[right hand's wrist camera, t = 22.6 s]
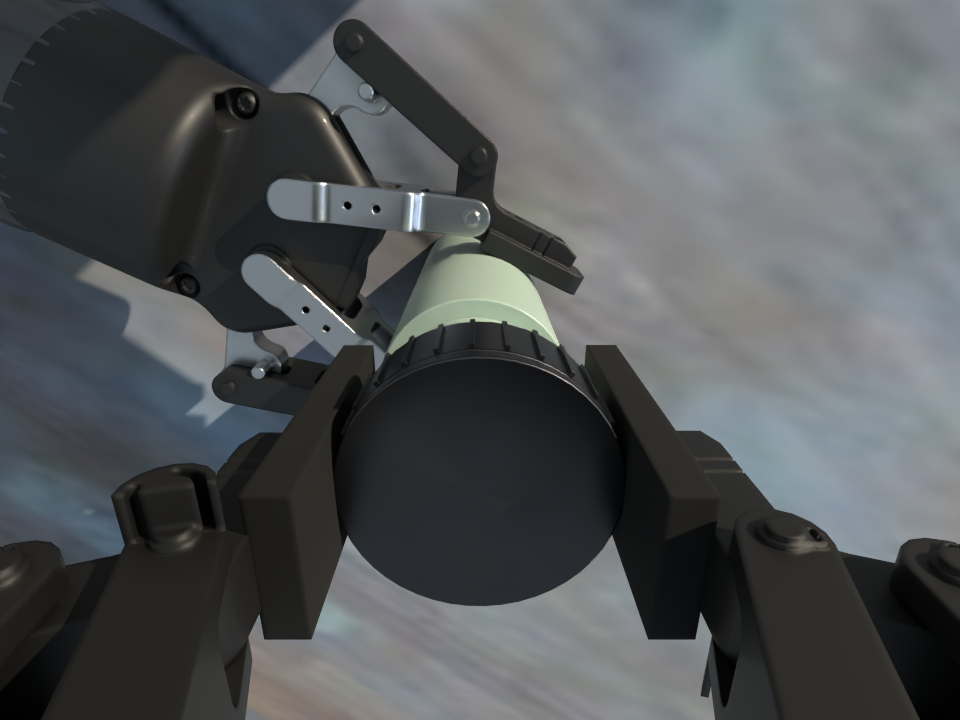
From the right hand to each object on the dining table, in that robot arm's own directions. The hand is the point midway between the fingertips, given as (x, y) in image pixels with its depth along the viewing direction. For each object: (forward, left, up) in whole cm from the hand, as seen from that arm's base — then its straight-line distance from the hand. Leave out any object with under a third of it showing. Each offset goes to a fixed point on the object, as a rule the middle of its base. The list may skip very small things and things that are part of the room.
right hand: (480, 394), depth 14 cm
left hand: (0, -2, -6) cm, 7 cm away
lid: (0, 0, +4) cm, 4 cm away
